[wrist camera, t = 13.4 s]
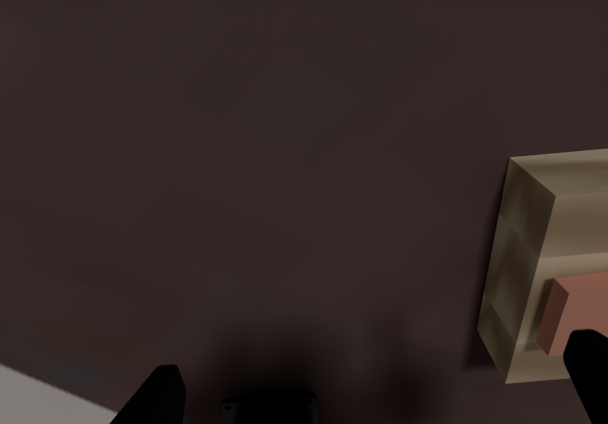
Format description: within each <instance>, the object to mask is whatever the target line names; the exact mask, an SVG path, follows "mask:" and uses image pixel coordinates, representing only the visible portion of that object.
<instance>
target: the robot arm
mask: <svg viewBox="0 0 608 424" xmlns="http://www.w3.org/2000/svg"><path fill="white" fill-rule="evenodd" d="M563 361H564V365H565V367H566V369H567V371H568V373H569V376H570V378H571V380H572V382H573V384H574V386H575V388H576V391H577V393H578V395H579V397H580V399H581V401H582V403H583V406H584V408H585V410H586V412H587V414H588V416H589V419H590V421H591V423H592V424H608V337H606V336H604V335H603V334H601V333H599V332H598V331H596V330H593V329H578V330H573V331H572V332H571V333H570V336H569V338H568V341H567V344H566V347H565V349H564V352H563ZM185 398H186V390H185V385H184V382H183V380H182V377H181V374H180V371H179V369H178V367H177V366H176V365H174V364H171V365H161V366H158V367H157V368H156V369H155V370H154V371H153V372H152V373H151V375H150V376H149V377H148V378H147V379H146V381H145V382H144V383H143V384H142V385H141V387H140V388H139V389H138V390H137V391H136V393H135V394H134V395H133V396H132V397H131V399H130V400H129V401H128V402H127V403H126V404H125V406H124V407H123V408H122V409H121V410H120V412H119V413H118V414H117V415H116V416H115V418H114V419H113V420H112V421H111V423H110V424H183V415H184V406H185ZM221 411H222V415H223V418H224V421H225V424H319V421H318V412H317V402H316V395H315V393H314V392H312V391H304V392H292V393H280V394H268V395H256V396H245V397H233V398H225V399H223V400H222V401H221Z"/></svg>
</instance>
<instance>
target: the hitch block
mask: <svg viewBox="0 0 608 424" xmlns="http://www.w3.org/2000/svg"><path fill="white" fill-rule="evenodd" d="M600 272H608V149H598V150H587V151H576V152H565V153H554V154H543V155H532V156H520V157H510V159H509V164H508V170H507V175H506V180H505V185H504V190H503V195H502V201H501V206H500V211H499V216H498V221H497V227H496V232H495V237H494V242H493V247H492V253H491V258H490V263H489V268H488V273H487V278H486V284H485V289H484V294H483V299H482V304H481V310H480V315H479V320H478V325H477V331H478V333H479V335H480V337H481V339H482V340H483V342H484V344H485V346H486V348H487V350H488V352H489V354H490V355H491V357H492V359H493V361H494V363H495V365H496V367H497V369H498V370H499V372H500V374H501V376H502V378H503V380H504V382H505V384H507V383H518V382H530V381H542V380H554V379H566V378H570V376H569V373H568V371H567V369H566V367H565V365H564V361H563V355H555V356H547V354H546V353H545V352H544V351H543V349H542V348H541V347H540V345H539V344H538V343H537V341H536V338H537V335H538V331H539V328H540V325H541V321H542V318H543V315H544V311H545V308H546V305H547V302H548V298H549V295H550V292H551V288H552V285H553V282H554V279H555V278H561V277H569V276H577V275H584V274H592V273H600Z"/></svg>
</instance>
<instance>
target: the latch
mask: <svg viewBox="0 0 608 424" xmlns="http://www.w3.org/2000/svg"><path fill="white" fill-rule="evenodd" d="M578 329H593V330H596V331H598V332H599V333H601V334H603V335H604V336H606V337H608V272H600V273H592V274H584V275H577V276H569V277H561V278H555V279H554V282H553V285H552V288H551V292H550V295H549V298H548V302H547V305H546V308H545V311H544V315H543V318H542V321H541V325H540V328H539V331H538V335H537V338H536V341H537V343H538V344H539V345H540V347H541V348H542V349H543V351H544V352H545V353H546V354H547V356H555V355H563V352H564V349H565V347H566V344H567V341H568V338H569V336H570V333H571V332H572V331H573V330H578Z"/></svg>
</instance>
